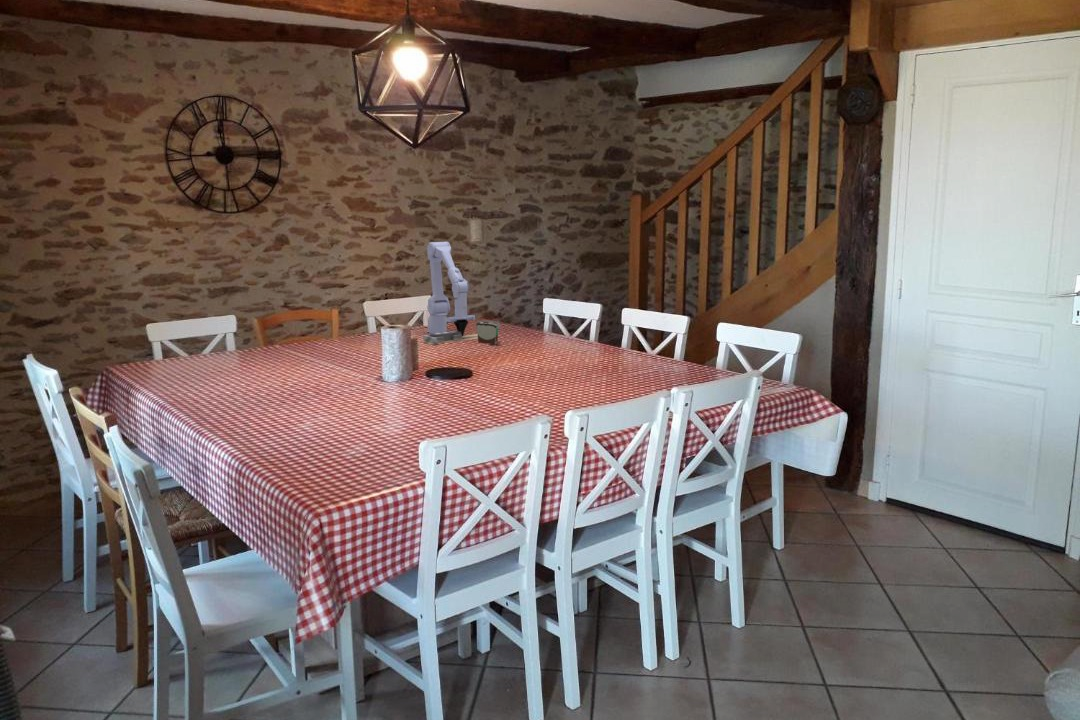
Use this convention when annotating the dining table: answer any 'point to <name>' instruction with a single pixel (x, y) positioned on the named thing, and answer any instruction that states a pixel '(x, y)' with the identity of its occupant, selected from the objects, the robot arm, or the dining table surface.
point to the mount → (437, 340)
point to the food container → (488, 332)
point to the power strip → (446, 335)
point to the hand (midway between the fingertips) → (461, 336)
